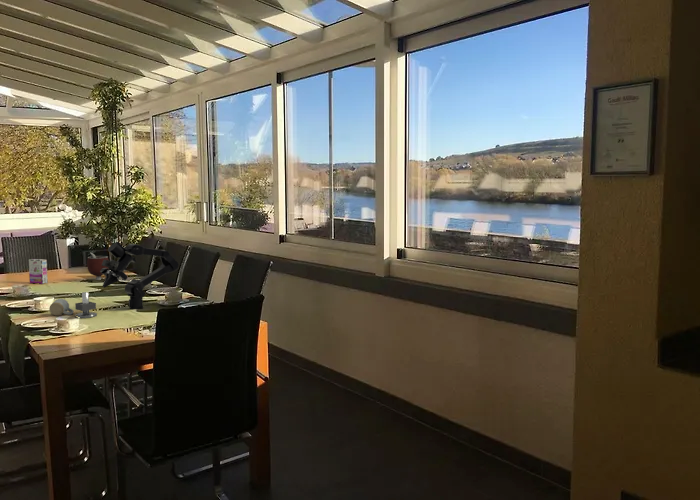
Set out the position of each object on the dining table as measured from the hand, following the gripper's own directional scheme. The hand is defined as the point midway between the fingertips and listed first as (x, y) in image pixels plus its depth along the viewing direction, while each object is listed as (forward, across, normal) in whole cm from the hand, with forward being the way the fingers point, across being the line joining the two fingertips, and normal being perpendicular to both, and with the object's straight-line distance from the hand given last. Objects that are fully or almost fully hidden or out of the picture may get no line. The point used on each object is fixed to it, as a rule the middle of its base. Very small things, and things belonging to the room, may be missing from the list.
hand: (103, 287), depth 308 cm
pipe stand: (+17, 0, +2) cm, 17 cm away
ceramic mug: (+21, -13, -2) cm, 25 cm away
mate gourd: (-27, -107, +44) cm, 119 cm away
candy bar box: (-5, -128, +21) cm, 130 cm away
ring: (+14, 0, 0) cm, 14 cm away
